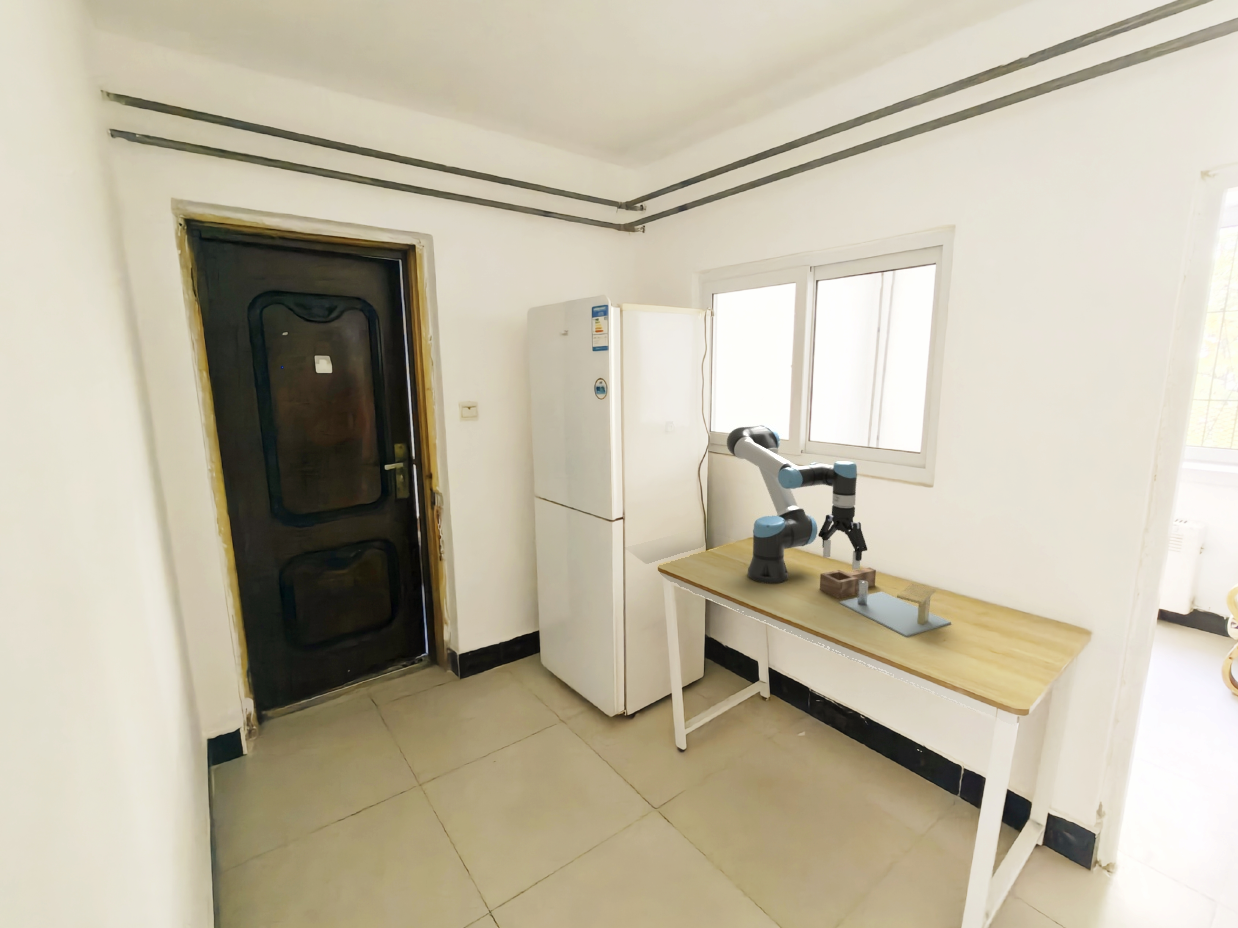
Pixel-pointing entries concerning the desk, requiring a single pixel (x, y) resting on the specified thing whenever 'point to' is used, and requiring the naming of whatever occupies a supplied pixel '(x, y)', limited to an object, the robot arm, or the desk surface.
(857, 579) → the link
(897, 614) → the board
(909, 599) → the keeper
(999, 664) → the desk surface
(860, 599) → the cylinder
